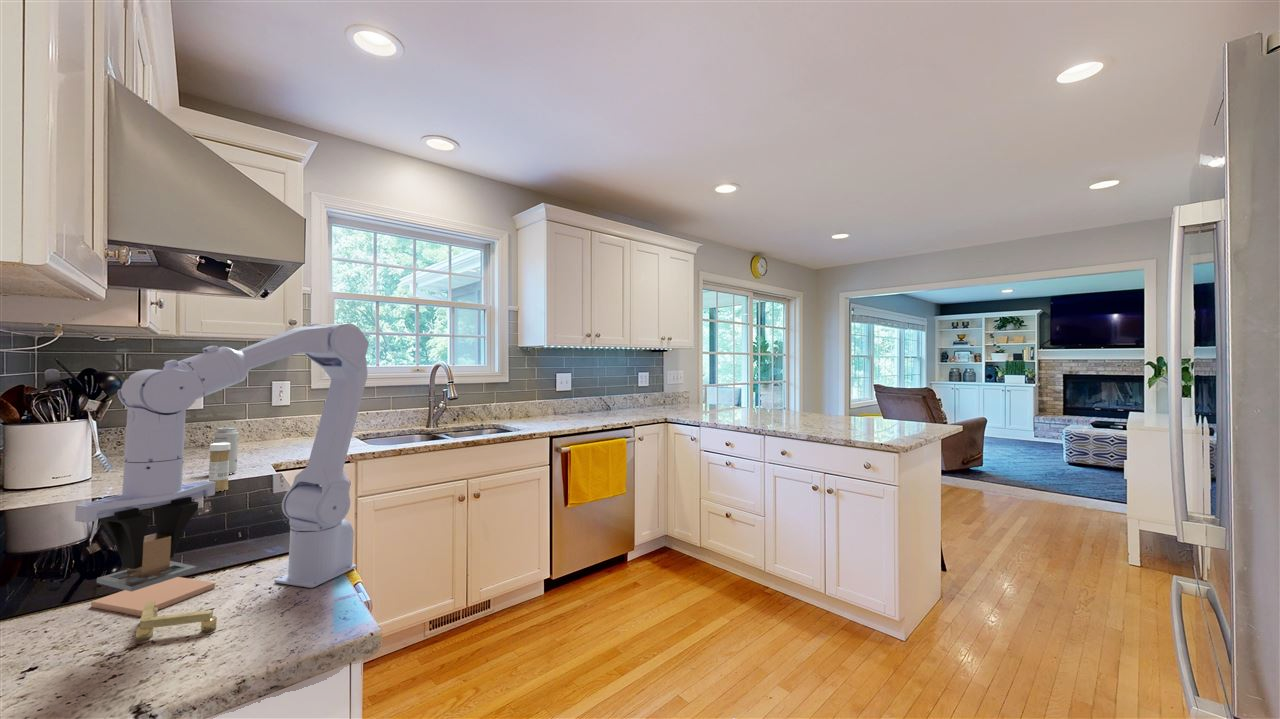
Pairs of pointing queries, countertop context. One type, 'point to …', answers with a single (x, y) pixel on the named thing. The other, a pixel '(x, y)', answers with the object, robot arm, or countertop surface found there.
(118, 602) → the tile
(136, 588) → the grey window frame
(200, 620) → the brass bent rod
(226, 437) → the energy drink can
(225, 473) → the sprinkles bottle
